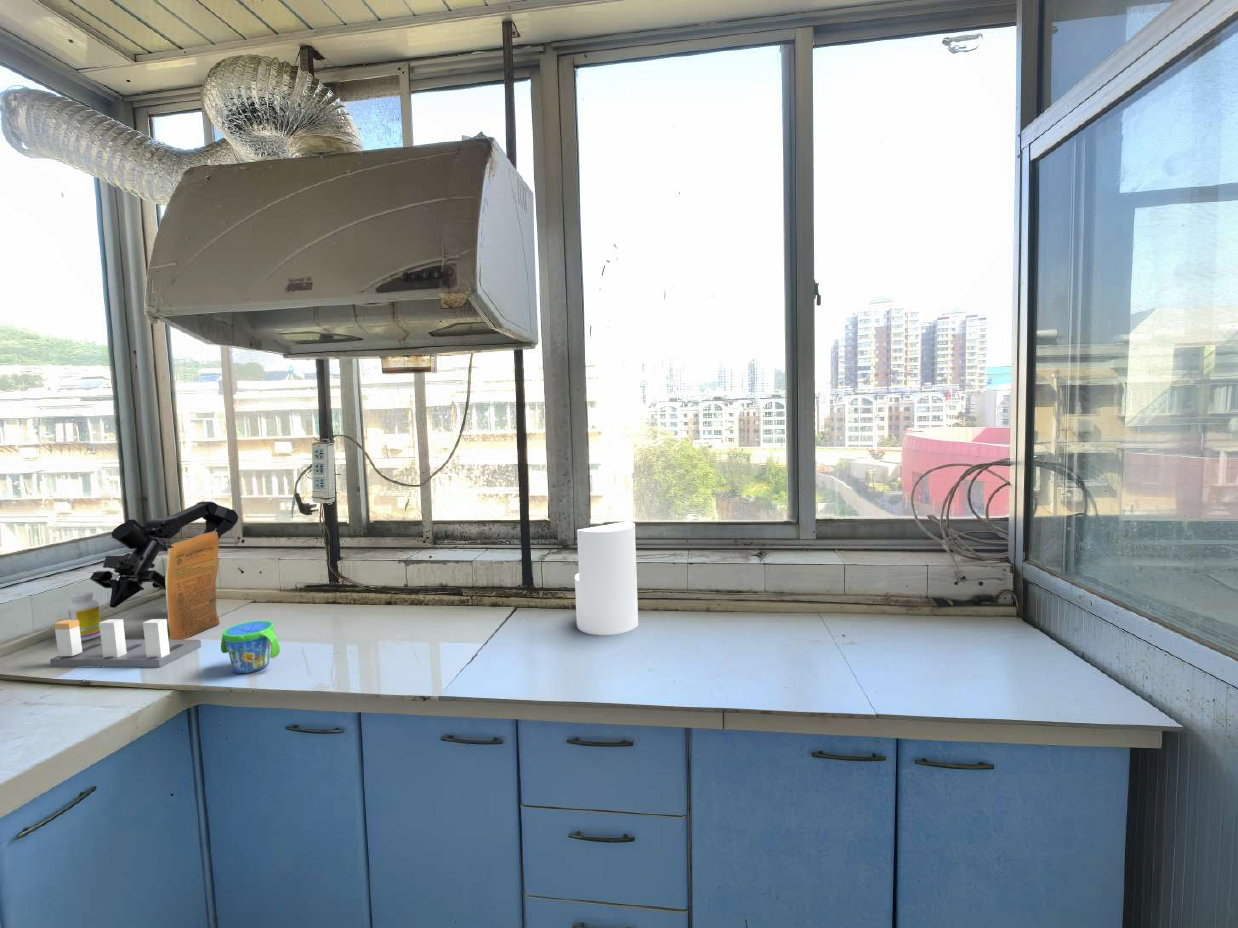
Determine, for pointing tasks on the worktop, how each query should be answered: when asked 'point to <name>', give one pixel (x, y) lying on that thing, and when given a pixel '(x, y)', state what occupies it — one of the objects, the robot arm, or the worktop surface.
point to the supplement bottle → (85, 615)
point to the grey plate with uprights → (130, 647)
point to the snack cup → (250, 645)
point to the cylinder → (607, 579)
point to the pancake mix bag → (192, 585)
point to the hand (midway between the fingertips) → (111, 607)
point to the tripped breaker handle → (68, 637)
